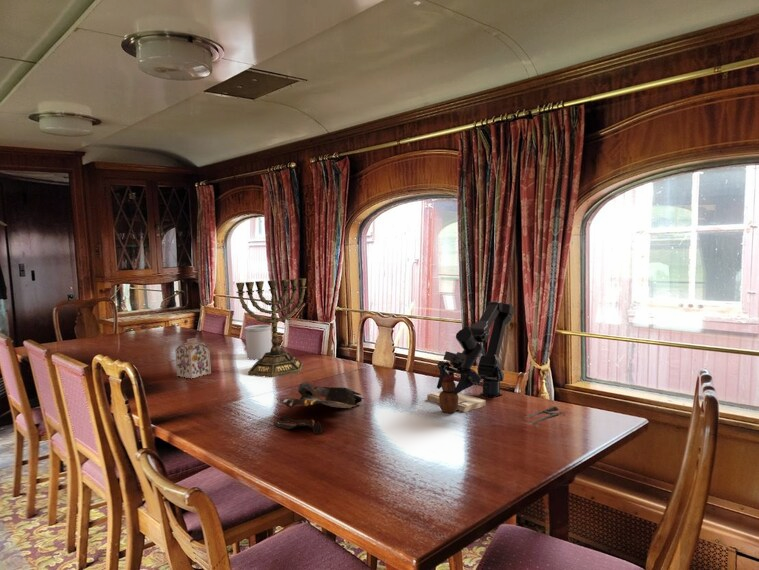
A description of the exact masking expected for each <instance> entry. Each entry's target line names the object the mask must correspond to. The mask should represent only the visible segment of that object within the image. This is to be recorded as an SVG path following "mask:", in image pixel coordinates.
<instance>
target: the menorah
mask: <svg viewBox="0 0 759 570" xmlns="http://www.w3.org/2000/svg"><path fill="white" fill-rule="evenodd" d="M264 282H265V281H264V280H257V281H255V282H254V281H245V282H236V283H235V286H236V288H237V291H236V294H237V295H238V298H239V302H240V304H241V308H242V309H244V310H245V312H246V313H247V315H249V317H251V318H253V319H255V320H257V321H258V322H263V323H268V324H269V323H270V324H271V337H272V339H271V342H272V348H271V350H270V352H267V353H265V354H264V356H263V357H262V358H261V359H258V360H257V361H256V362H255V363H254V364H253V365H252V366H251V368H250V369H249V371H248V373H247V374H248V376H253V375H255V376H254V377H263V376H265V378H272V377H273V378H278V377H282V376H283V375H284V376H290V375H295V374H300V373H301V372H302V370H301V369H303V367H302V366H304V364H303V362H302V361H301V360H299V359H298V358H297V357H295V356H292V355H291V354H290V353H289V352H288V351H283V350H281V348H280V346H279V345H278V344H279V343H280V339H279V337H278V334H279V333H278V328H277V327H278V323H279V322H282V321H284V320H287V319H290V318H291V316H293V315H294V314H295V313H297V312H298V310H299V308H300V306H301V305H302V304H303V302H304V297H305V291H306V289H307V286H306V283H307V278H293V279H292V278H291V279H280V283H281V285H282V288H281V290H282V292H283V293H282V295H281V296H280V298H279V299H278V300H277V301H276V297H275V295H276V291H278V290H277V288H276V286H277V284H278V280H272V279H271V280H267V283H268V287H269V289H268V291H270V294H271V299H270V301H271V302H270V301H268V300H267V299H266V297H264V296H263V292H264V291H265V289H263V287H264ZM289 282H290V285H291V287H290V288H289V287H288V286H289ZM298 283H299V287H298ZM254 284H255V286H256V288H257V289H256V290H253V289H254ZM245 286H246V290H244V287H245ZM298 289H300V295H299V298H298V299H297V303H296V304H295V306H294V307H293V308H292V310H291V311H289V313H286V314H285V315H283V316H281V317H278V315H277V314H279V313H281V312H283V311H286V310H287V309H288V308H289V307H290V306H291V305H292V304H293V303H294V300H295V297H296V295H297V291H298ZM288 290H291V291H292V292H291V297H290V299H288V302H287V304H285V305H284V306H282V307H281V308H279V309H277V305H280V304H281V303H283V302H284V301H285V300H286V297H287V295H288V294H287V293H288ZM255 292H257V295H258V297H259V299H260V302H261V303H263V304H264V305H267V306H270V310H268V309H265V308H263V307H261V306H260V305H258V302H256V301H255V298H254V296H253V295H254V294H253V293H255ZM244 293H247V296H248V299H249V301H250V302H251V305H252V306H253V307H254V308H255V309H257V310H258V311H259V312H260V313H264V314H269V315H271V316H270V318H264V317H262V316H259V315H257V314H255V312H254V311H252V310H251V309H250V308H249V307H248V304H247V303H246V301H245V300H244ZM289 374H290V375H289ZM277 376H278V377H277ZM284 376H283V377H284Z"/></svg>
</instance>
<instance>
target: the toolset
mask: <svg viewBox="0 0 759 570" xmlns="http://www.w3.org/2000/svg"><path fill="white" fill-rule="evenodd" d="M297 392H298V394H300V396H301V397H300V398H290V397H289V398H287V397H286V398H284V399H280V401H279V402H280V403H281V404H284V405H285V406H286V407H287V408H290V409H293V408H294V407H295V406H297V405H301V406H302V407H307V406H314V405H315V404H322V405H325V406H327V407H331V408H342V409H343V408H344V409H351V408H352V407H357V405H356V401H363V400H365V397H364V398H363V397H361V395H362V393H359V392H356V391H354V390H352V389H350V388H349V387H341V386H337V387H335V386H331V387H329V386H315V385H313V384H311V383H309V382H308V381H305V382H301V383H300V384H299V386H298V391H297ZM319 397H321V398H325V399H321V398H319ZM280 421H282V422H280ZM286 421H289V422H286ZM278 422H279V423H282V424H278ZM291 422H294V423H296V424H294V423H291ZM273 424H274V426H275V427H276V426H277V428H278V427H279V428H282V429H286V430H289V429H293V428H298V427H310V428H311V429H312V433H313V434H315V435H316V433H317V435H321V434H322V425H321V422H320V421H317V422H316V421H315V420H314V418H310V419H307V418H305V419H293V418H292V417H288V416H282V417H279V418H278V419H276V420H275V421H274V422H273ZM315 432H316V433H315Z"/></svg>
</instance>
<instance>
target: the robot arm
mask: <svg viewBox="0 0 759 570" xmlns="http://www.w3.org/2000/svg"><path fill="white" fill-rule="evenodd" d="M514 314H515V307H514V306H513V305H512V303H507V302H506V303H503V302H500V301H489V302H488V304H487V306H486V308H485V310H484V312H483V313H482V315H481V317H480V319H479V320H478V321H477V322H475V323H473V324H472V325H470V326H463V328H462V329H460V330H458V331H457V333H456V335H455V339H456V340H457V342H458V344H459V345H460V347H461V348H462V349H463V350H462V352H459V351H457V352H456V353H454V352H452V351H445V353H444V355H443V360H439V361H438V363H437V364H436V366H437V369H438V370H439V378H438V380H437V385H436V388H437V389H438V390H440V389H442V382H443V379H444V377H445V379H446V375H447V377H448V374H449V372H450V377H451V376H452V372H453V370H454V375H455V374H456V375H459V376H460V379H459V381H458V383H457V384H456V388H455V389H454V392H453V394H454V395H456V394H458V393H462V392H463V391H465V390H467V389H468V388H470V387H472V386H473V387H474V386H476V385H479V384H480V382H481V380H482V392H480V393H479V394H480V395H481V396H484V395H485V397H488V396H489V398H491V397H493V398H495V397H496V396H497V397H499V396H498V395H500V396H503V395H504V394H503V393H502V392H501V390H500V389H501V387H500V384H501V382H504V378H505V373H504V371H503V369H502V368H501V367H502V364H501V362H500V359H499V356H500V352H501V348H502V343H503V338H504V334H505V331H506V326H507V325H508V324H509V323H510V322H511V321H512V318H513V316H514ZM491 328H492V329H491ZM490 329H491V333H490ZM480 343H481V344H486V343H488V346H487V350H486V353H485V350H484V346H483V345H481V344H480ZM478 357H480V358H479V363H478V365H477V364H476V363H475V362H476V361H477V359H478ZM476 366H477V371H476V370H475V369H473V368H472V367H476ZM501 393H502V394H503V395H502V394H501ZM497 397H496V398H497Z"/></svg>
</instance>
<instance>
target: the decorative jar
mask: <svg viewBox="0 0 759 570" xmlns="http://www.w3.org/2000/svg"><path fill="white" fill-rule="evenodd" d="M175 364H176V365H175V368H176V369H175V370H176V377H178V376H180V378H184V377H185V378H186V379H190V378H191V380H193V379H195V378H200V377H204V376H206V375H207V374H208V375H211V374H212V371H211V370H212V369H211V365H212V364H211V350H210V346H209V345H208V344H207V343H206V342H205V341H201V340H198V338H197V337H195V338H192V337H191V338H188V339H186V342H182V343H180V344H178V346H177V347H176V349H175ZM203 375H204V376H203ZM199 376H200V377H199ZM192 378H193V379H192Z"/></svg>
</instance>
